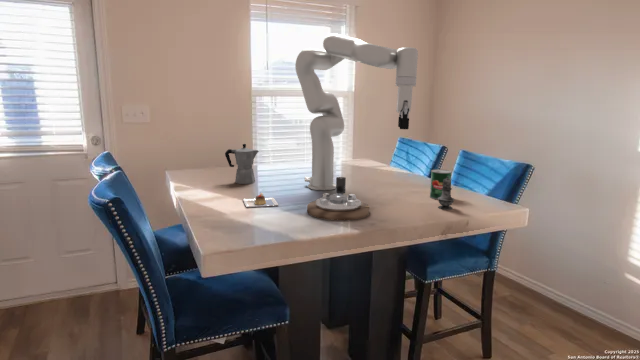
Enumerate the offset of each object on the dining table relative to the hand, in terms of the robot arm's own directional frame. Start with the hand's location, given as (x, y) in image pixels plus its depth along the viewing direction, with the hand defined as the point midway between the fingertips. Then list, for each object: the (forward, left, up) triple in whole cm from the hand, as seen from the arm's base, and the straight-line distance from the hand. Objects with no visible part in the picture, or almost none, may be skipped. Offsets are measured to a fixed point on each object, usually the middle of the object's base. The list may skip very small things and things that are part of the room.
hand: (403, 128), depth 162 cm
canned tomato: (+13, +12, -29) cm, 34 cm away
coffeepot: (-75, -1, -29) cm, 80 cm away
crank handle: (-16, -23, -26) cm, 38 cm away
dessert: (-45, -30, -29) cm, 62 cm away
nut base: (-15, -27, -28) cm, 42 cm away
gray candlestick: (+18, -4, -29) cm, 34 cm away
